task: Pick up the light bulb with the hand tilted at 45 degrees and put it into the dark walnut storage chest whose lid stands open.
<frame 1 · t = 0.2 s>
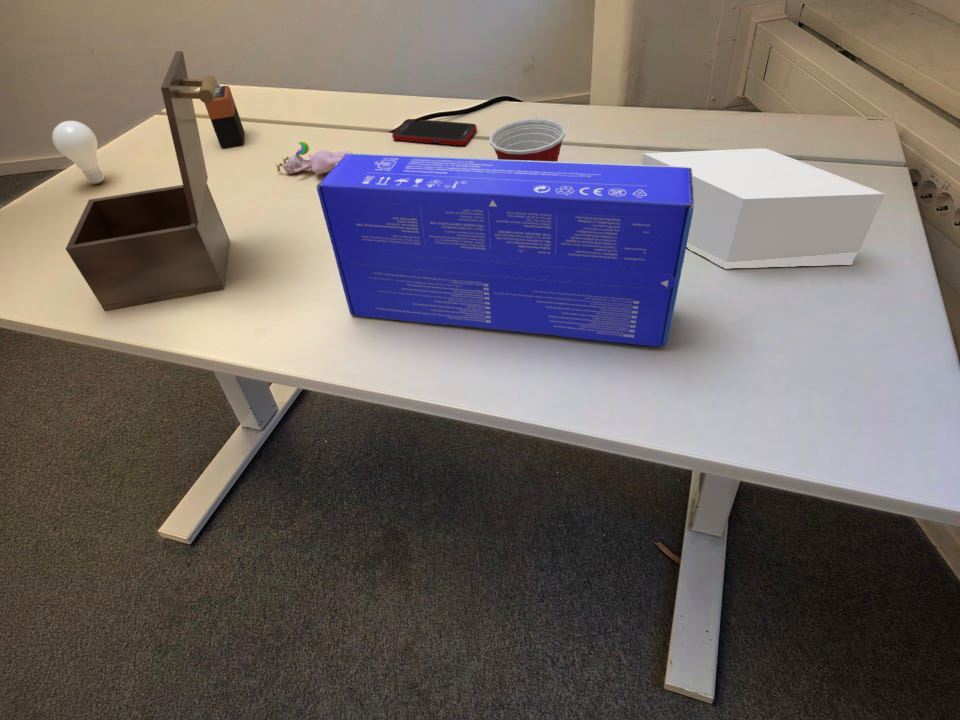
chest: (171, 273, 86), on the table
cell phone: (435, 135, 114), on the table
lightbulb: (98, 184, 108), on the table
blue cardboard box: (505, 313, 76), on the table
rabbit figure: (320, 174, 106), on the table
white box: (735, 242, 84), on the table
chest lid: (204, 138, 75), point 18 cm above the table, hinge at 100.0°
battery: (233, 141, 118), on the table
plastic cup: (527, 208, 94), on the table
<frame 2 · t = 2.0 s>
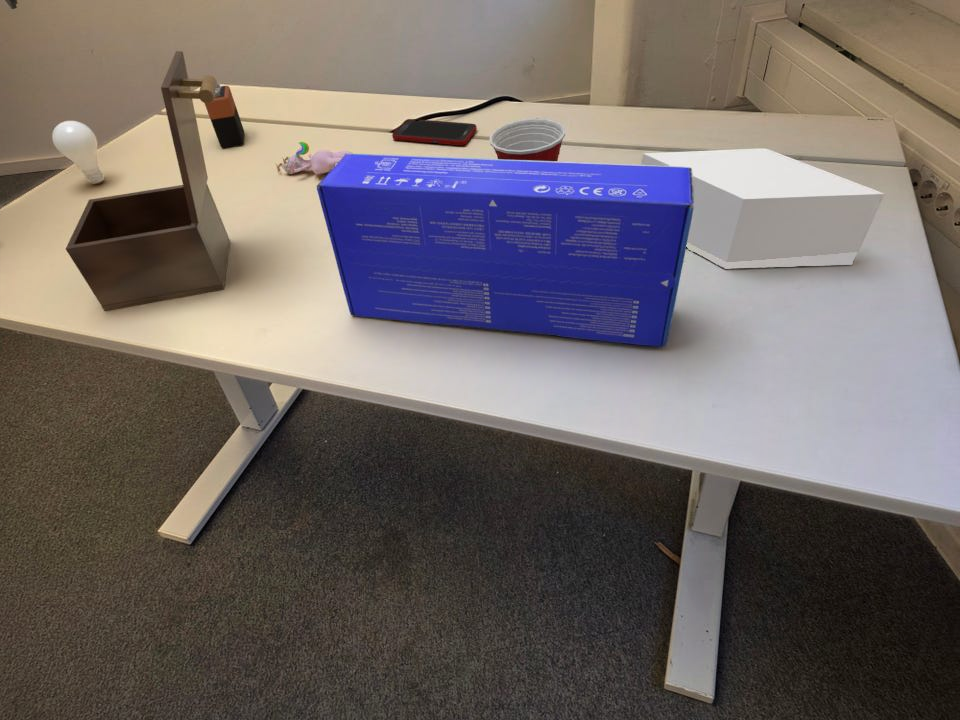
nothing on the table moved.
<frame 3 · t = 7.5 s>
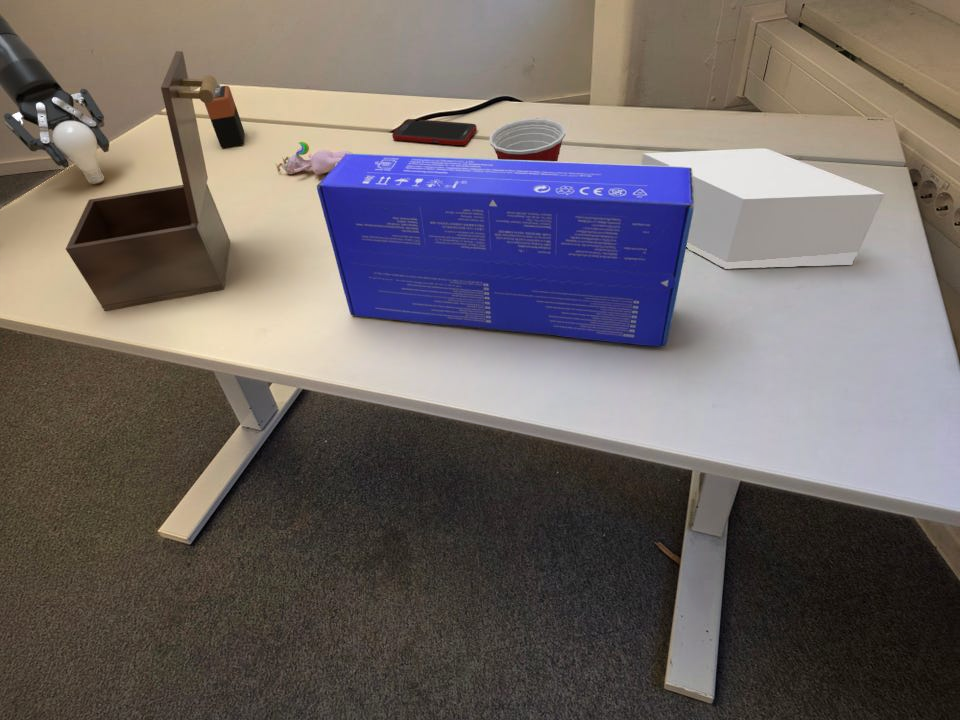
hand: (86, 156, 103), 5 cm above the table, tool tilted 45°, fingers closed on lightbulb, 6 cm apart
lightbulb: (98, 184, 108), on the table, touching gripper
everything else where it was.
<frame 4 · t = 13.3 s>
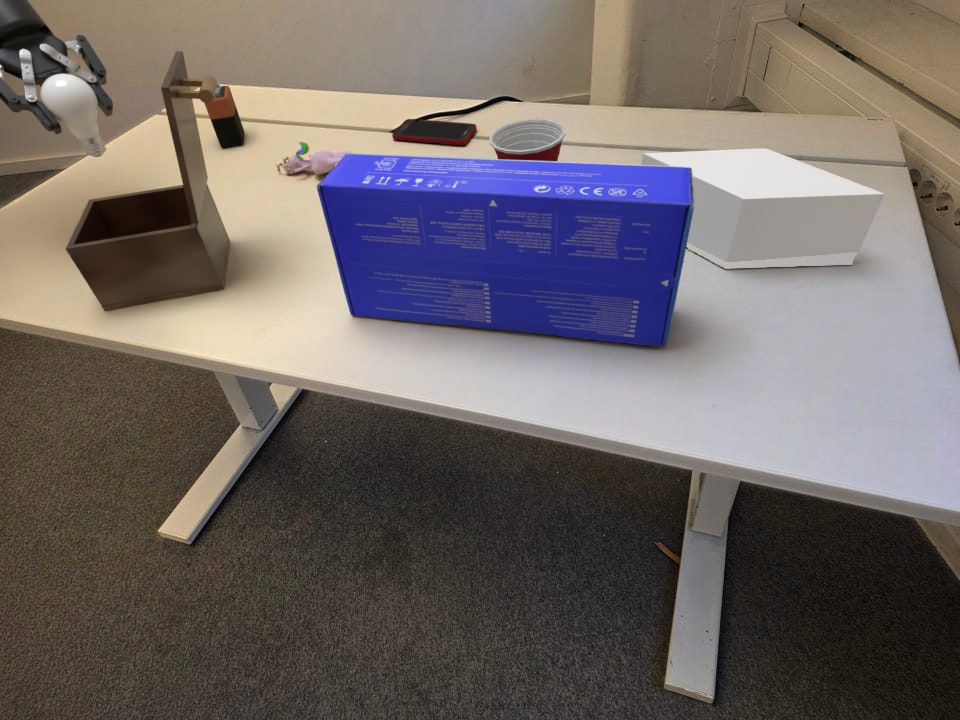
hand: (84, 121, 81), 18 cm above the table, tool tilted 45°, fingers closed on lightbulb, 6 cm apart
lightbulb: (99, 157, 86), point 12 cm above the table, touching gripper
everything else where it was.
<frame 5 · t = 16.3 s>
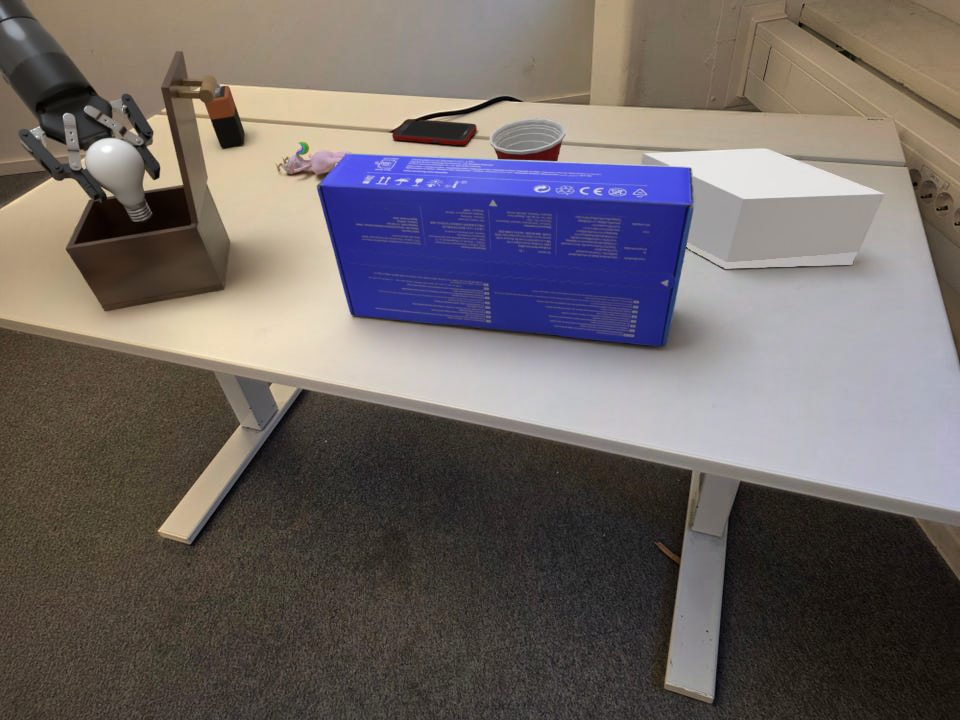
hand: (131, 187, 76), 14 cm above the table, tool tilted 45°, fingers closed on lightbulb, 6 cm apart
lightbulb: (144, 222, 80), point 8 cm above the table, touching gripper
everything else where it was.
when the fingers open (7 cm above the table, at t = 18.9 s): lightbulb drops 1 cm, resting on chest.
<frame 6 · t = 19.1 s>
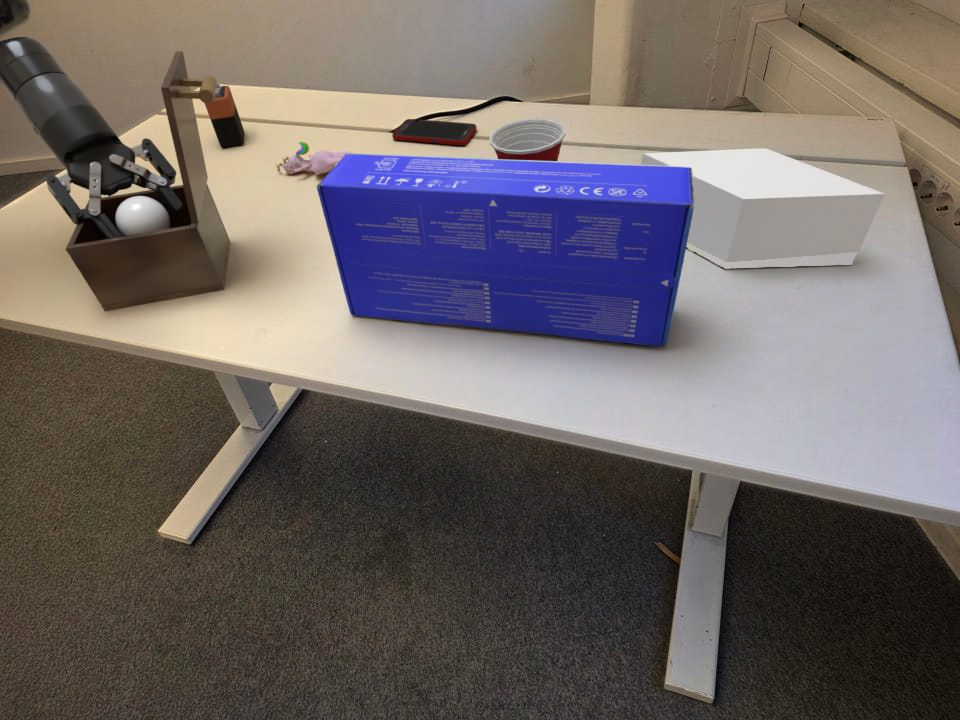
hand: (151, 227, 80), 8 cm above the table, tool tilted 45°, fingers open, 8 cm apart
lightbulb: (167, 270, 86), point 1 cm above the table, touching chest
everything else where it was.
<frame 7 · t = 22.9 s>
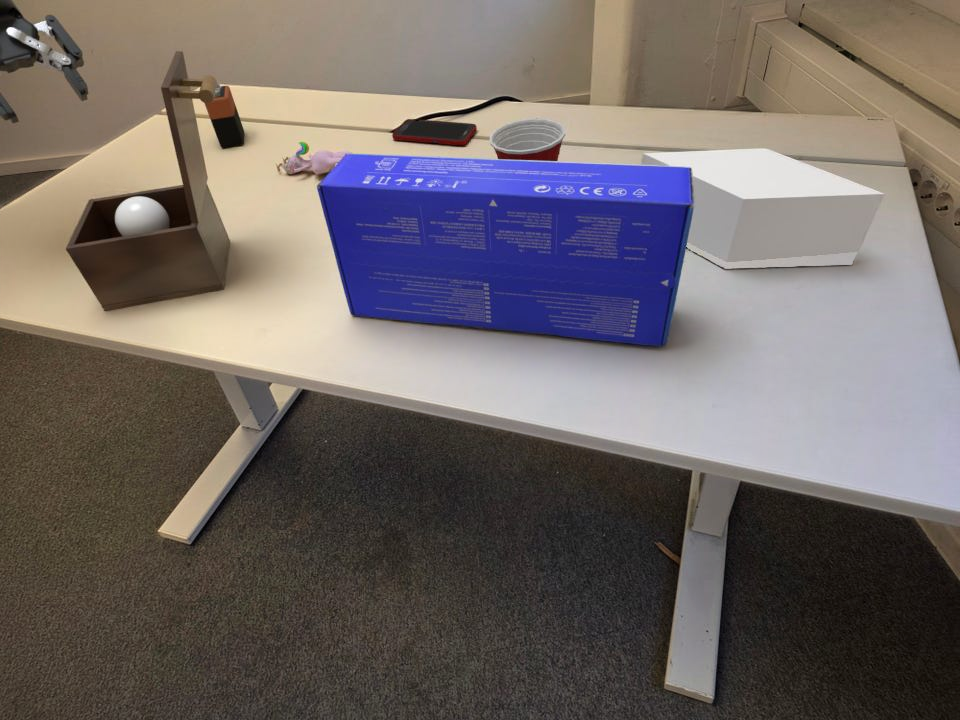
hand: (50, 108, 77), 21 cm above the table, tool tilted 45°, fingers open, 8 cm apart
nothing on the table moved.
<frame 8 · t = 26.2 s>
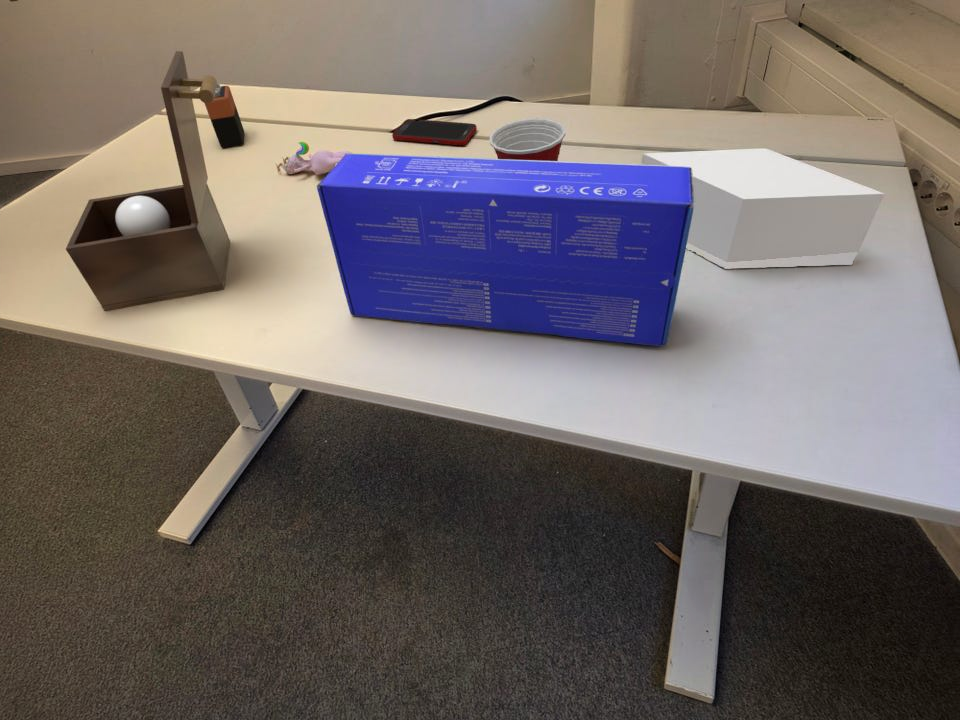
nothing on the table moved.
at the end: lightbulb inside the target area in the chest (0.2 cm from its centre), point 0.6 cm above the chest's base; the gripper is holding nothing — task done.
